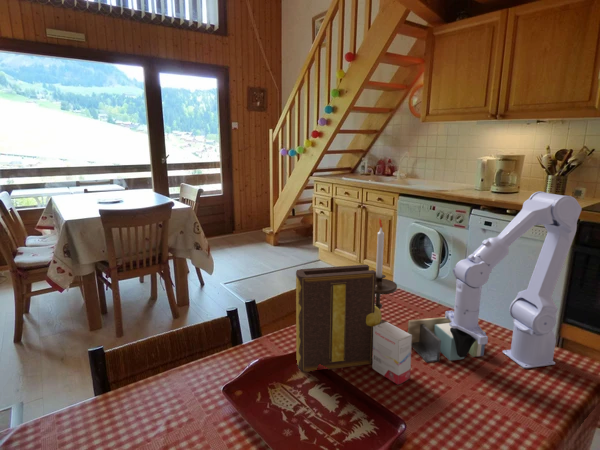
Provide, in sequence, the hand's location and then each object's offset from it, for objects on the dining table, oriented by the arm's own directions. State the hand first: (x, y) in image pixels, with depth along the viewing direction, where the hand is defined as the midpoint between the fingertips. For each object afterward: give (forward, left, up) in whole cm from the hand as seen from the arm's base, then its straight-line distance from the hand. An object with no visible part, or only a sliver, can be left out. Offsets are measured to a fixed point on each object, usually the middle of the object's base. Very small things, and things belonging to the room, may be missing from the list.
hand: (462, 355), depth 96 cm
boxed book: (0, -6, -2) cm, 6 cm away
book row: (-7, -7, -2) cm, 10 cm away
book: (+31, -8, -2) cm, 32 cm away
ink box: (+20, 0, -2) cm, 20 cm away
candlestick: (+14, -23, -2) cm, 27 cm away
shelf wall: (0, -12, -2) cm, 12 cm away
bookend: (+7, -7, -2) cm, 10 cm away
